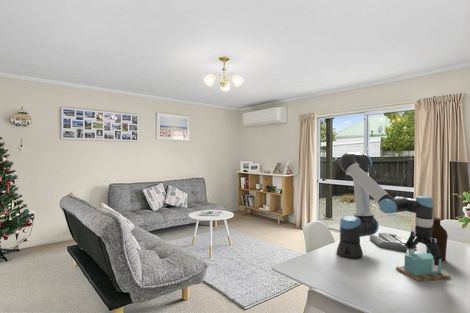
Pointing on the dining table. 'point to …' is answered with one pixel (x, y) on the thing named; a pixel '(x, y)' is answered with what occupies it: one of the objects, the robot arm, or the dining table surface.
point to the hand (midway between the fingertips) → (422, 265)
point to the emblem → (390, 241)
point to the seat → (424, 277)
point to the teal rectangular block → (420, 264)
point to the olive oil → (439, 237)
